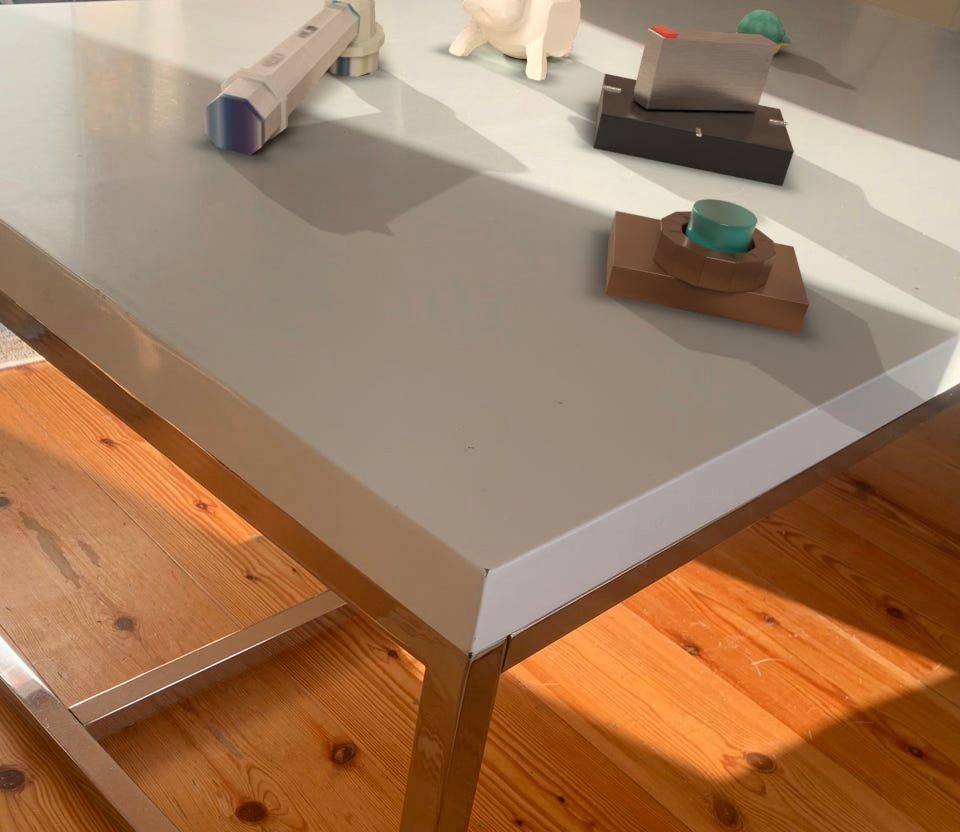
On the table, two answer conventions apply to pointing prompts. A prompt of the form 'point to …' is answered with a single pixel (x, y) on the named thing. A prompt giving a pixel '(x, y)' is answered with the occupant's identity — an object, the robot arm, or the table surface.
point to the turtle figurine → (764, 27)
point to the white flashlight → (293, 74)
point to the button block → (704, 273)
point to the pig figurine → (521, 30)
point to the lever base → (694, 135)
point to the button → (721, 226)
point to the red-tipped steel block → (702, 70)
